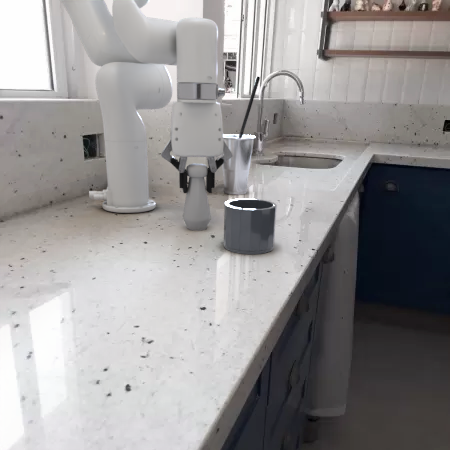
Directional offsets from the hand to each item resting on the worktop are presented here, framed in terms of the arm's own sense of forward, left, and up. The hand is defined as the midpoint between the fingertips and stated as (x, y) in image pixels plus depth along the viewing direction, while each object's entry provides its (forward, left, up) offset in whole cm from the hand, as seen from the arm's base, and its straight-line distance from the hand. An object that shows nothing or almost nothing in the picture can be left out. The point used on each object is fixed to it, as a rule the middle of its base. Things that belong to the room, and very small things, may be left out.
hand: (197, 190), depth 98 cm
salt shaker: (0, 0, -8) cm, 8 cm away
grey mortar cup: (+8, -14, -8) cm, 18 cm away
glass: (+16, +37, -8) cm, 41 cm away
